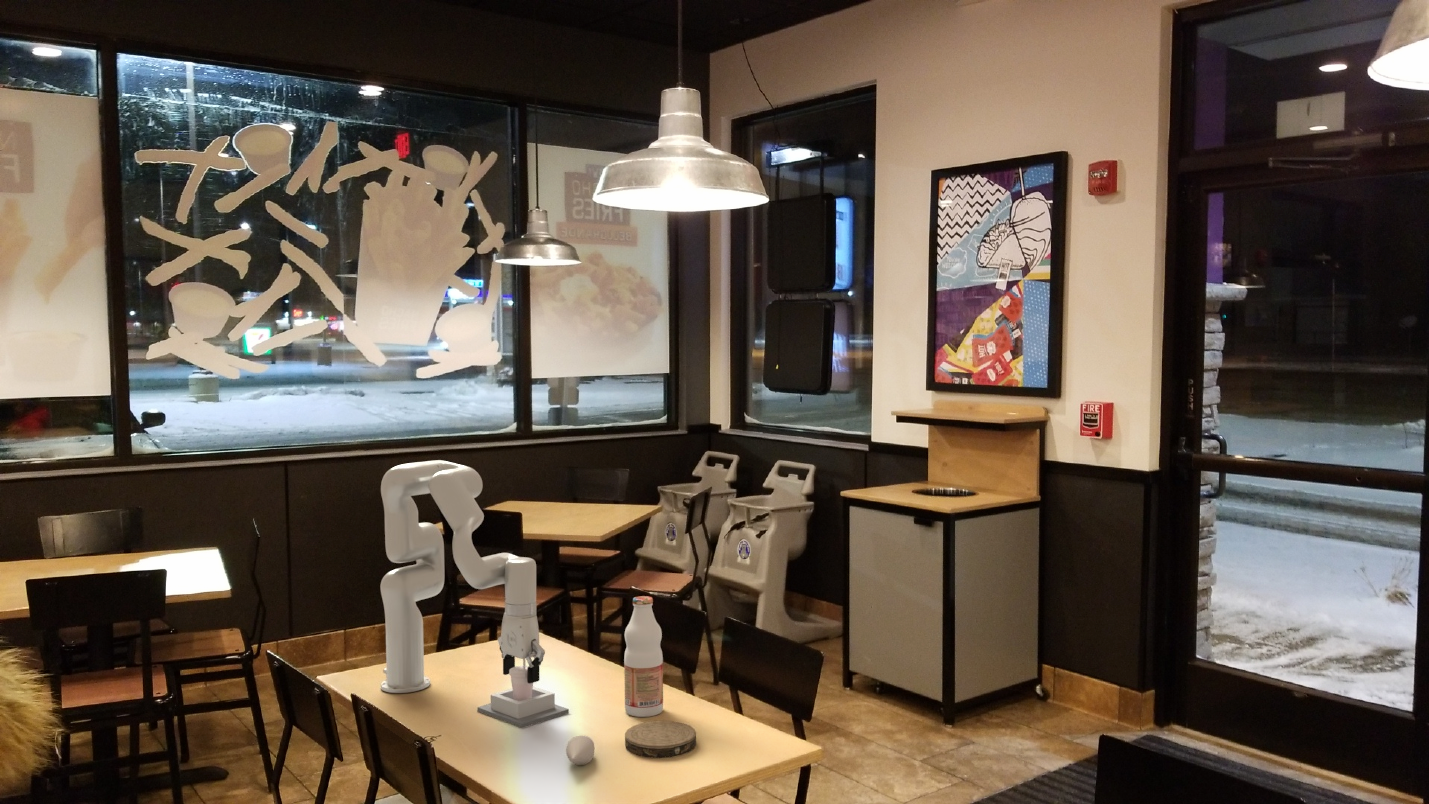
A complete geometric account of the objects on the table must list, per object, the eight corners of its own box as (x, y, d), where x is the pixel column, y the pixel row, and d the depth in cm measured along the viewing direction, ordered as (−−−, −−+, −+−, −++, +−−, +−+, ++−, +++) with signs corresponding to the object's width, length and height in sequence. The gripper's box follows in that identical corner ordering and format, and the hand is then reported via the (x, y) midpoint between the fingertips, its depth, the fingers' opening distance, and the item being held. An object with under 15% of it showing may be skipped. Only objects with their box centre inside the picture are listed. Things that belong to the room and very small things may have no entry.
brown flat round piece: (611, 743, 242) (611, 730, 242) (670, 728, 251) (670, 716, 251) (650, 765, 229) (649, 751, 229) (710, 748, 238) (710, 735, 238)
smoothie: (530, 713, 259) (529, 656, 258) (505, 711, 260) (504, 654, 259) (539, 704, 265) (539, 648, 264) (515, 703, 266) (514, 647, 265)
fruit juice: (616, 713, 261) (615, 599, 260) (641, 702, 269) (640, 592, 268) (646, 720, 256) (645, 604, 254) (671, 709, 263) (669, 596, 262)
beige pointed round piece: (570, 780, 220) (583, 764, 235) (593, 761, 220) (604, 746, 235) (552, 756, 221) (566, 742, 235) (575, 737, 221) (587, 724, 236)
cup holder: (477, 711, 263) (477, 693, 263) (523, 697, 274) (523, 680, 274) (522, 728, 251) (522, 709, 251) (568, 713, 262) (568, 694, 261)
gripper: (486, 605, 264) (487, 673, 265) (530, 617, 253) (530, 689, 254) (511, 600, 270) (512, 667, 271) (555, 612, 258) (555, 682, 259)
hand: (521, 677), depth 262 cm, fingers open, 9 cm apart
